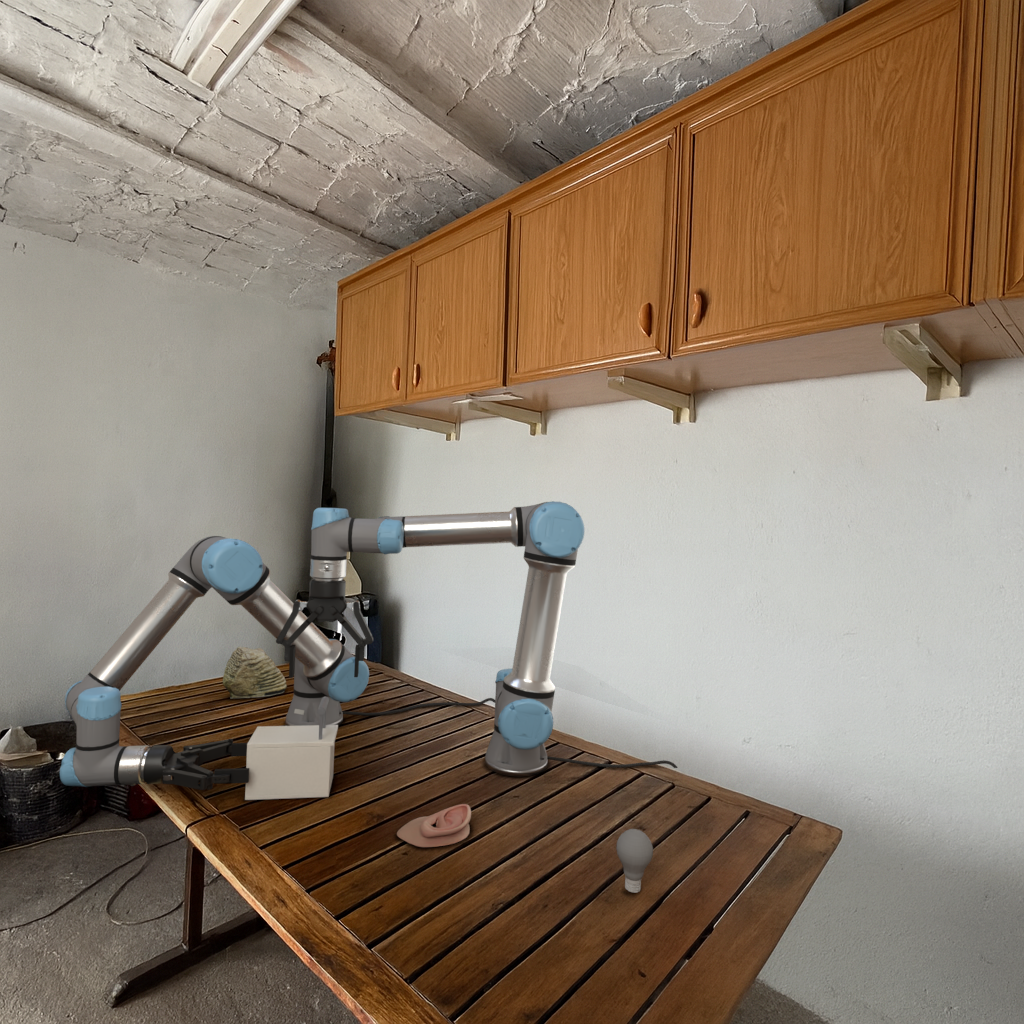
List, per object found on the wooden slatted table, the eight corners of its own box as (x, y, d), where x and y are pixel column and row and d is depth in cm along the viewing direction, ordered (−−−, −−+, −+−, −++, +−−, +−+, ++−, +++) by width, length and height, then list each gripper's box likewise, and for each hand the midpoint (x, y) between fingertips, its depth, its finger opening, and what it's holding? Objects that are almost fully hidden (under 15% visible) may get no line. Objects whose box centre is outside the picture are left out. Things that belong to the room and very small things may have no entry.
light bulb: (610, 879, 108) (613, 822, 108) (644, 879, 109) (647, 822, 109) (619, 902, 102) (622, 840, 102) (655, 901, 103) (658, 840, 103)
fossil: (218, 695, 195) (220, 647, 195) (278, 685, 208) (279, 640, 207) (228, 703, 189) (230, 653, 188) (289, 692, 201) (290, 645, 201)
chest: (333, 776, 144) (335, 728, 144) (328, 797, 134) (330, 746, 134) (255, 778, 141) (257, 730, 141) (244, 800, 131) (246, 748, 131)
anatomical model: (391, 821, 117) (413, 793, 128) (390, 842, 117) (412, 813, 128) (460, 832, 114) (476, 802, 125) (459, 853, 114) (475, 822, 126)
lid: (338, 728, 144) (339, 694, 144) (333, 746, 134) (335, 709, 134) (257, 730, 141) (258, 695, 140) (246, 748, 131) (248, 710, 130)
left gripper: (169, 758, 144) (267, 755, 148) (122, 812, 120) (241, 807, 124) (170, 725, 144) (268, 723, 148) (123, 772, 120) (242, 768, 123)
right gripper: (264, 579, 132) (260, 681, 132) (386, 582, 136) (382, 680, 137) (271, 575, 139) (267, 671, 139) (386, 577, 144) (382, 670, 144)
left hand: (256, 761), depth 136 cm, fingers open, 13 cm apart
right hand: (324, 675), depth 138 cm, fingers open, 13 cm apart
